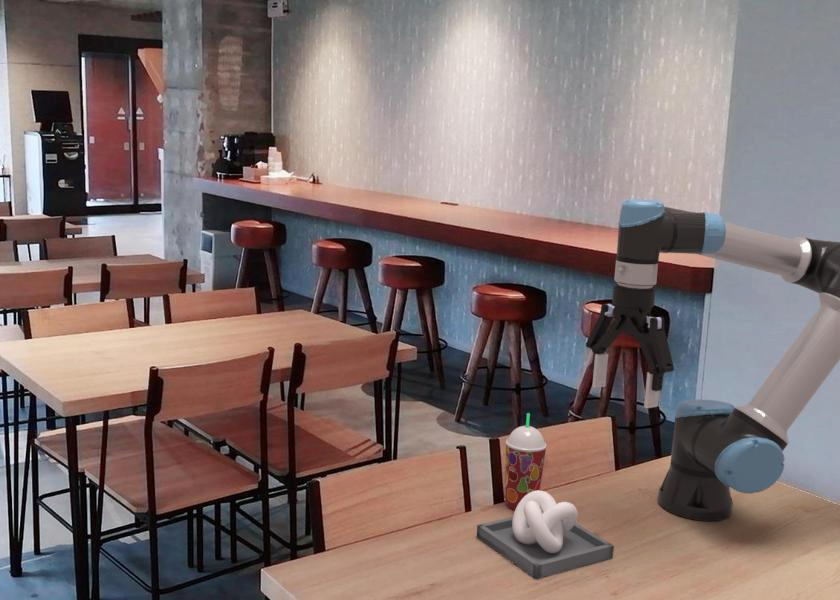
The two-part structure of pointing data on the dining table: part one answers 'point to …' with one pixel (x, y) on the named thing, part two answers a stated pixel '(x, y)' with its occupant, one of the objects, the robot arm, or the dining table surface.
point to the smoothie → (523, 463)
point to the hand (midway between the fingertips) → (623, 396)
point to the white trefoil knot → (543, 520)
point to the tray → (534, 559)
